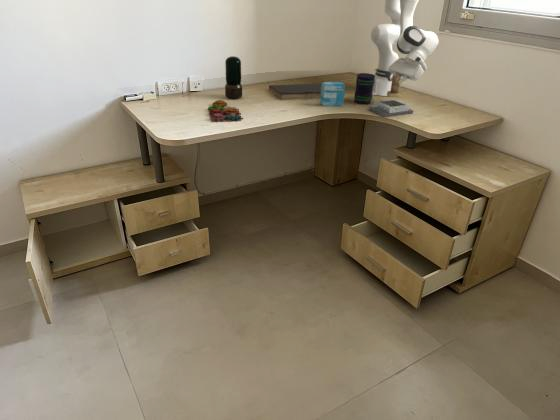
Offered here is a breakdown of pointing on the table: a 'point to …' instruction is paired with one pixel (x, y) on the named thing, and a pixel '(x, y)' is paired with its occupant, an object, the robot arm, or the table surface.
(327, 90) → the data package
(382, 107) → the carrier plate
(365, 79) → the storage jar
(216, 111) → the gear puzzle
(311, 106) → the table surface
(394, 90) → the tan upright cylinder
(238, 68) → the dark green cactus pot
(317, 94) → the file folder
